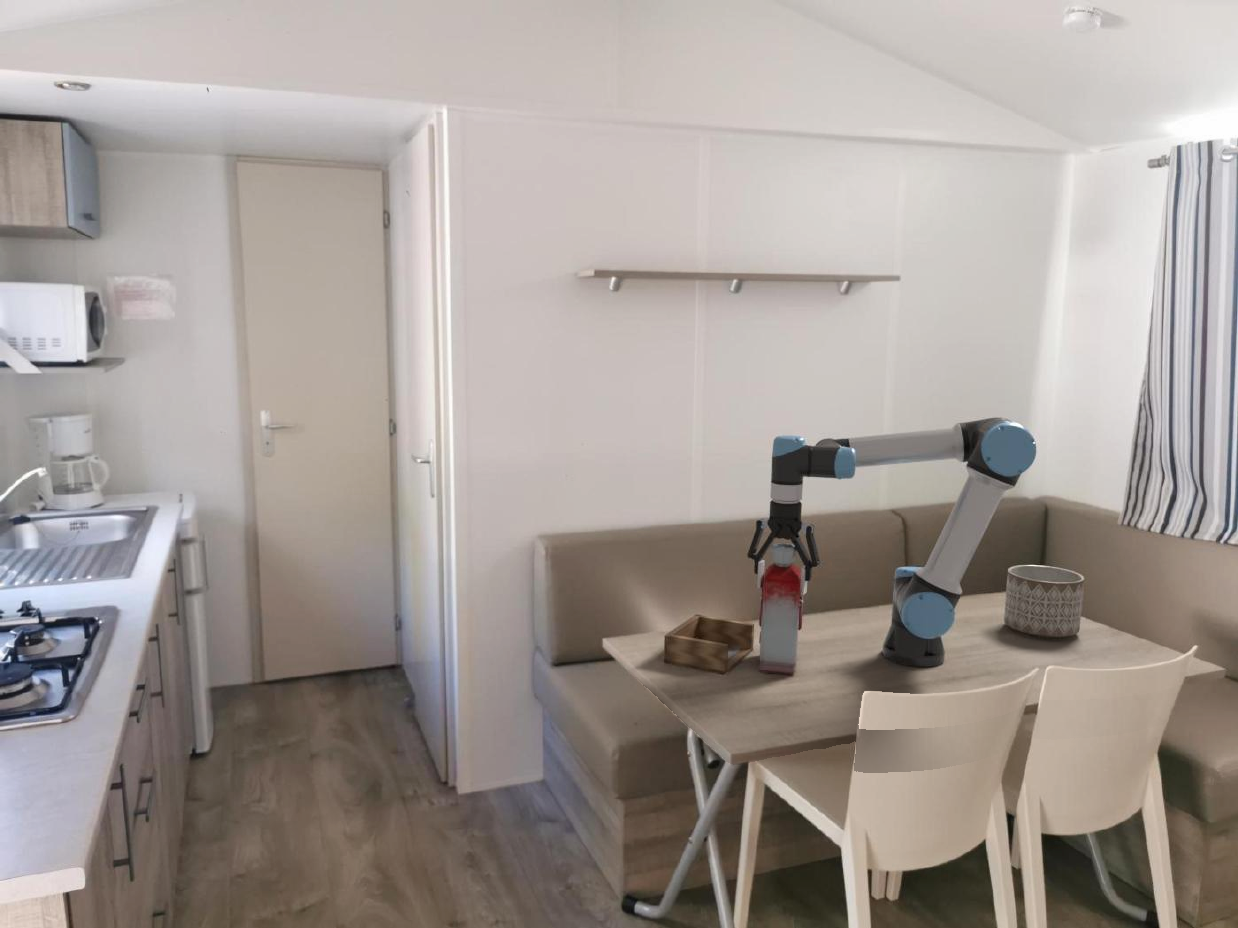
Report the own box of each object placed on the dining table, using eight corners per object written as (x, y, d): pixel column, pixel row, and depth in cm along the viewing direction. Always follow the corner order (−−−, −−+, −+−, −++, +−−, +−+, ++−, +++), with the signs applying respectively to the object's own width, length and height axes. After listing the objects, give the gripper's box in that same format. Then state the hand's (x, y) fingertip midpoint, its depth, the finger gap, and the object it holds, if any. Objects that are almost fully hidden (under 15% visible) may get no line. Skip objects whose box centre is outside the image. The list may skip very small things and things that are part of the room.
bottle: (798, 676, 235) (805, 553, 231) (755, 672, 237) (760, 550, 233) (800, 656, 249) (806, 540, 245) (759, 653, 251) (764, 537, 247)
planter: (1083, 628, 277) (1089, 571, 275) (1073, 647, 261) (1078, 586, 259) (1011, 616, 287) (1015, 561, 285) (996, 633, 271) (1001, 575, 269)
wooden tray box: (753, 650, 253) (754, 623, 252) (725, 674, 236) (726, 646, 235) (695, 639, 261) (696, 614, 260) (663, 662, 243) (664, 635, 242)
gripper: (836, 502, 235) (832, 593, 239) (746, 493, 246) (742, 580, 249) (828, 508, 229) (823, 601, 232) (735, 498, 239) (732, 587, 242)
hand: (781, 590), depth 241 cm, fingers closed on bottle, 10 cm apart
